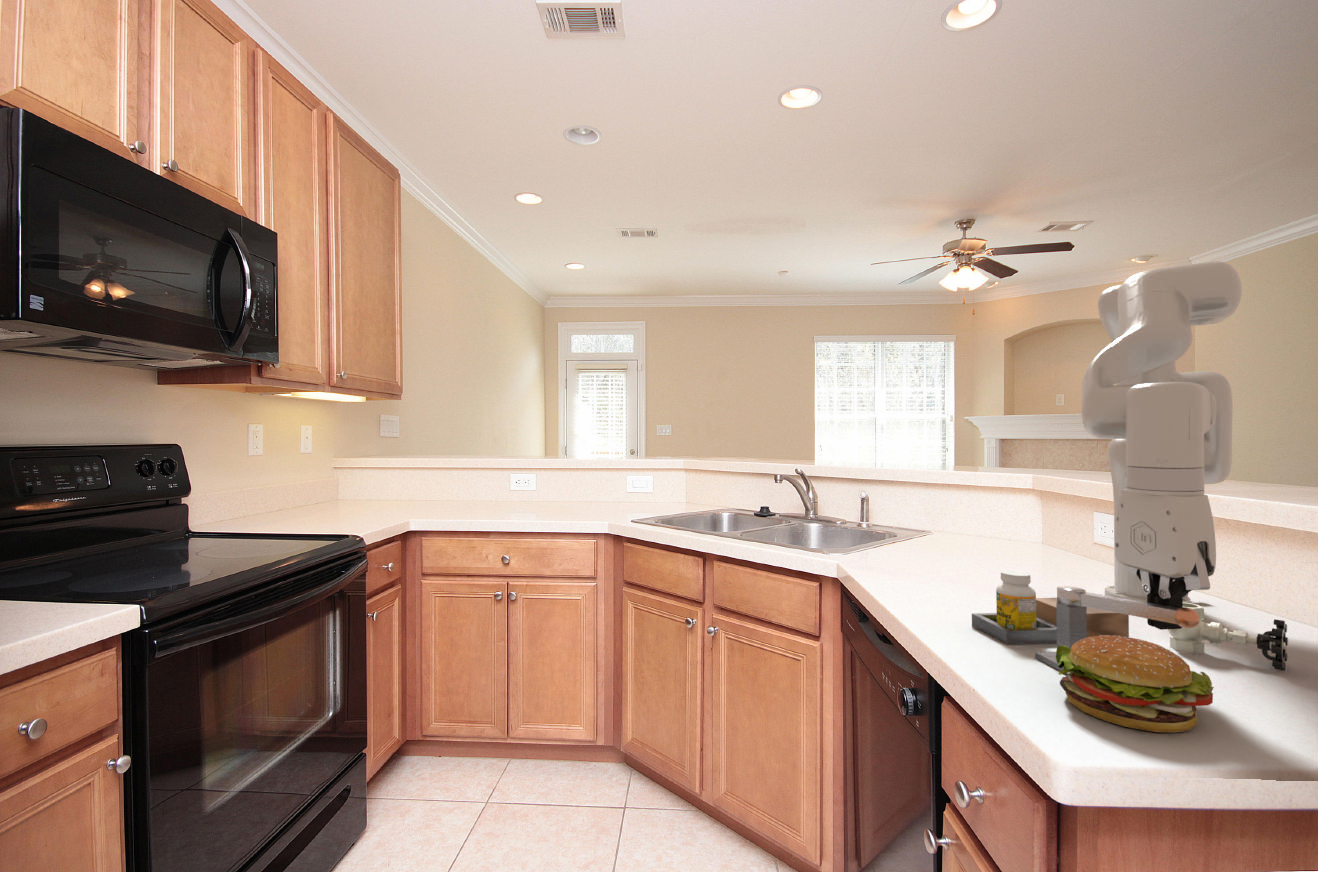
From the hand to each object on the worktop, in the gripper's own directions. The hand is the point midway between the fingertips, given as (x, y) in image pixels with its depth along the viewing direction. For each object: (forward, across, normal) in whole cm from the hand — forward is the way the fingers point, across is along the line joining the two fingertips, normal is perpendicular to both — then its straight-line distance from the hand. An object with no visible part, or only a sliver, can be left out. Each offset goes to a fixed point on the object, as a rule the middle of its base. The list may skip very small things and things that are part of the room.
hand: (1164, 626), depth 76 cm
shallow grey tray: (+7, -19, -7) cm, 21 cm away
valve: (+8, -7, +16) cm, 19 cm away
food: (+7, +7, -10) cm, 14 cm away
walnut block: (+7, -20, +4) cm, 22 cm away
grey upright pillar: (+7, -6, -8) cm, 12 cm away
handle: (-1, -1, -4) cm, 5 cm away
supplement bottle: (+8, -19, -7) cm, 22 cm away
